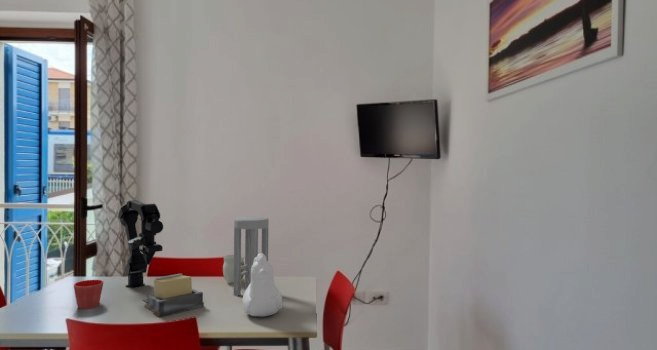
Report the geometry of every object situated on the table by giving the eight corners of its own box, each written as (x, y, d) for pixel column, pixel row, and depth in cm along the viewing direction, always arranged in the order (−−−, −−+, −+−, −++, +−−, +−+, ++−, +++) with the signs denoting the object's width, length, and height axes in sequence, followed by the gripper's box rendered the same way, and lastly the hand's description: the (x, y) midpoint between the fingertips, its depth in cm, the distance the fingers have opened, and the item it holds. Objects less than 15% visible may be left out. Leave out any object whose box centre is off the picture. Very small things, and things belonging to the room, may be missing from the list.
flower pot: (109, 303, 177) (109, 280, 177) (86, 311, 167) (87, 287, 167) (90, 300, 181) (90, 278, 181) (67, 308, 170) (67, 284, 170)
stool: (227, 295, 190) (227, 219, 189) (246, 287, 204) (246, 215, 204) (256, 300, 184) (257, 221, 183) (273, 290, 198) (274, 217, 198)
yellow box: (153, 301, 173) (153, 277, 173) (181, 295, 182) (181, 272, 182) (163, 307, 166) (164, 282, 166) (192, 300, 175) (192, 277, 175)
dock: (131, 302, 182) (131, 286, 182) (173, 293, 196) (173, 278, 195) (158, 319, 162) (158, 301, 162) (203, 308, 175) (203, 292, 175)
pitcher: (250, 277, 222) (250, 251, 222) (239, 287, 204) (239, 259, 204) (230, 276, 223) (230, 251, 223) (217, 286, 205) (217, 258, 205)
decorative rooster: (280, 322, 158) (281, 256, 158) (238, 322, 158) (239, 256, 157) (284, 301, 183) (284, 244, 183) (248, 301, 182) (248, 244, 182)
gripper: (122, 230, 194) (122, 263, 194) (137, 235, 180) (137, 271, 181) (146, 228, 202) (146, 260, 202) (163, 232, 188) (162, 267, 189)
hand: (147, 264), depth 193 cm, fingers closed
